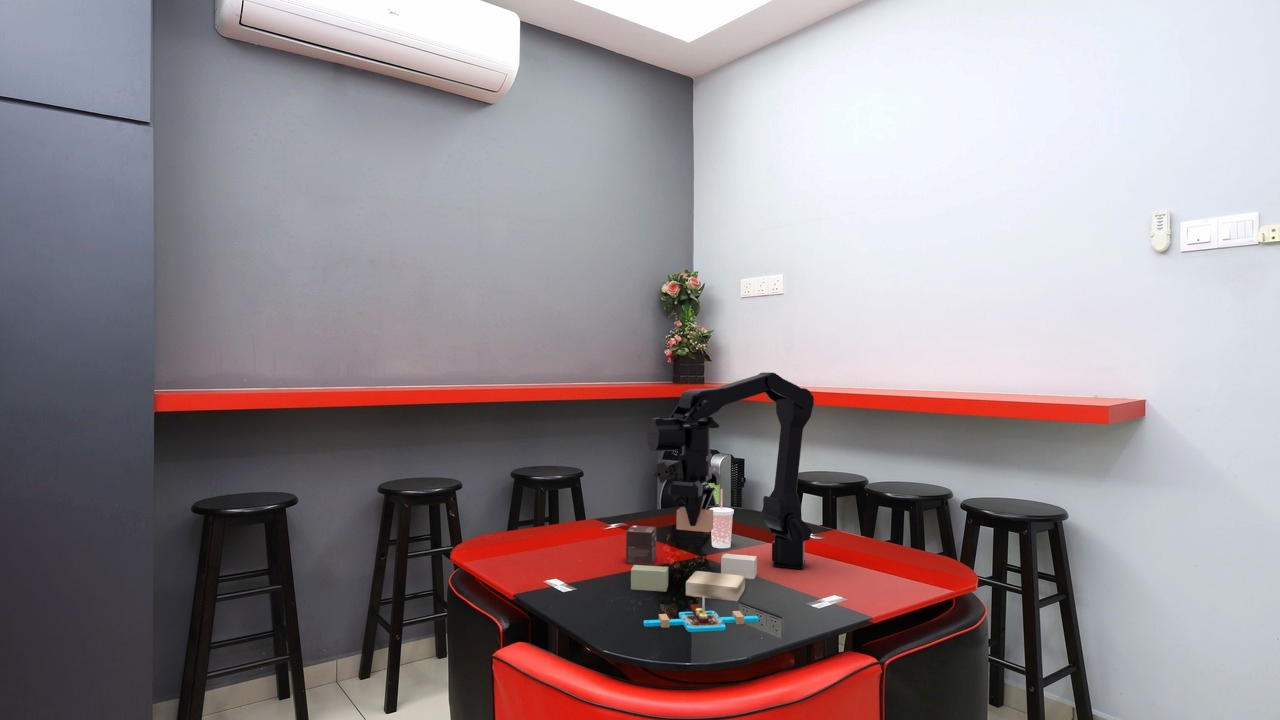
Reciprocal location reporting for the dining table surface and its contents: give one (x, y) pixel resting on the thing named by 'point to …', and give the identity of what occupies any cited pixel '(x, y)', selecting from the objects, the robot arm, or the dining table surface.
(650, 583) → the olive brick
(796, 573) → the dining table surface
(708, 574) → the beech slab
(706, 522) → the terracotta brick
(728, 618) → the gear mechanism
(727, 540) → the beverage cup
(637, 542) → the box
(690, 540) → the dining table surface
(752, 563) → the cream brick
